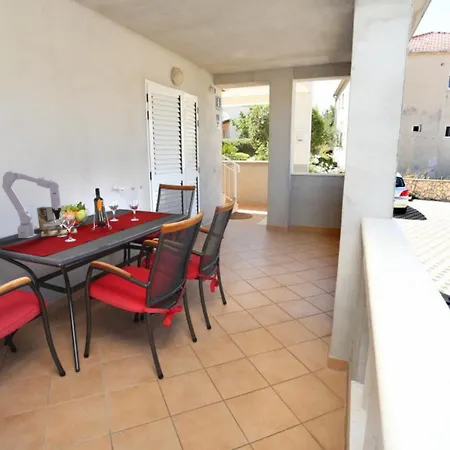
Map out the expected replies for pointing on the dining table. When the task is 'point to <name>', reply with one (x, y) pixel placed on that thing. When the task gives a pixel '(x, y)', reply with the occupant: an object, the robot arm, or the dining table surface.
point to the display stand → (56, 232)
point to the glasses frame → (53, 223)
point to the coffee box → (45, 217)
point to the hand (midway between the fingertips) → (57, 218)
